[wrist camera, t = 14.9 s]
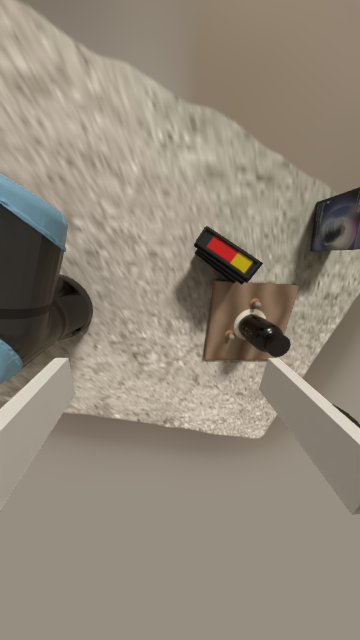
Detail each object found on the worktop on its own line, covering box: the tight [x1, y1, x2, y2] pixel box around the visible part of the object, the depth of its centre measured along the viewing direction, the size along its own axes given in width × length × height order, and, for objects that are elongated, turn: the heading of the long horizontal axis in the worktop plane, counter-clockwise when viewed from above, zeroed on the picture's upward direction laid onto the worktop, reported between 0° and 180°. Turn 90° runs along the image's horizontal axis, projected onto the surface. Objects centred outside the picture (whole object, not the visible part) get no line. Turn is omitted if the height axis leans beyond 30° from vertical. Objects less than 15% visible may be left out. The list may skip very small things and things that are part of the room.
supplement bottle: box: [238, 314, 291, 357], centre depth 39 cm, size 7×7×12 cm
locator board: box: [204, 280, 299, 360], centre depth 45 cm, size 22×22×4 cm
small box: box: [310, 187, 360, 251], centre depth 34 cm, size 11×6×10 cm, turn 9°
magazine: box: [194, 226, 263, 285], centre depth 34 cm, size 4×13×15 cm, turn 55°
